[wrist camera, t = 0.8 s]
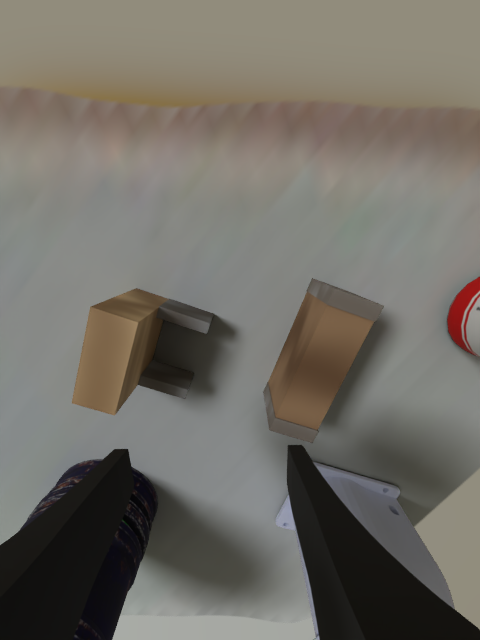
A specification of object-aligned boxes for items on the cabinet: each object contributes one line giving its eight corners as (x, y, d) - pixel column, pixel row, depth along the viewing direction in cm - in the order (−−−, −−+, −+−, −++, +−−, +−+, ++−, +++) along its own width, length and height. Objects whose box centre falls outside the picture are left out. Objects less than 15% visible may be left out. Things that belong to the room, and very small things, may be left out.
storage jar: (60, 447, 23) (-249, 791, 8) (167, 471, 23) (53, 824, 9) (52, 525, 25) (-193, 888, 11) (149, 544, 26) (38, 908, 12)
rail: (312, 278, 19) (334, 288, 14) (350, 292, 19) (384, 306, 14) (263, 391, 21) (269, 430, 17) (297, 402, 21) (312, 443, 17)
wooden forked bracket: (214, 313, 19) (202, 342, 14) (191, 381, 21) (172, 432, 15) (136, 287, 19) (90, 305, 13) (119, 359, 20) (71, 403, 15)
